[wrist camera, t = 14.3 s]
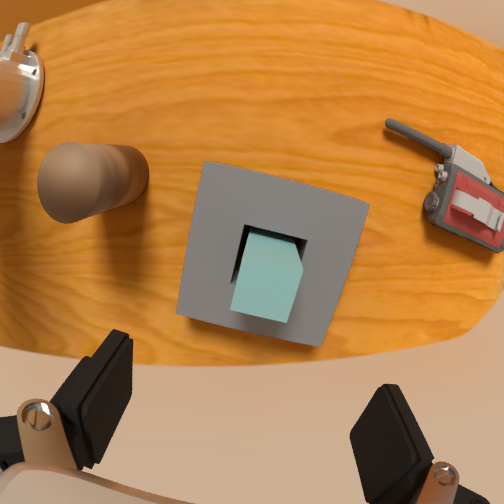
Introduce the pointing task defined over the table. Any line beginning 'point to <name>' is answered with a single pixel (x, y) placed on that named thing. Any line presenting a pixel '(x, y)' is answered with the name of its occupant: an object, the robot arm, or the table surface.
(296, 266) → the square peg
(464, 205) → the walkie-talkie
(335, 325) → the table surface
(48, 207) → the round plug
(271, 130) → the table surface
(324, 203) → the socket block
